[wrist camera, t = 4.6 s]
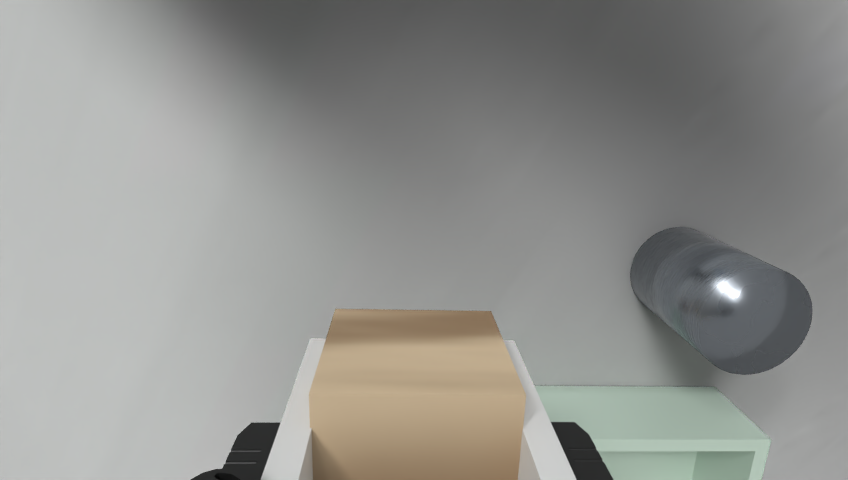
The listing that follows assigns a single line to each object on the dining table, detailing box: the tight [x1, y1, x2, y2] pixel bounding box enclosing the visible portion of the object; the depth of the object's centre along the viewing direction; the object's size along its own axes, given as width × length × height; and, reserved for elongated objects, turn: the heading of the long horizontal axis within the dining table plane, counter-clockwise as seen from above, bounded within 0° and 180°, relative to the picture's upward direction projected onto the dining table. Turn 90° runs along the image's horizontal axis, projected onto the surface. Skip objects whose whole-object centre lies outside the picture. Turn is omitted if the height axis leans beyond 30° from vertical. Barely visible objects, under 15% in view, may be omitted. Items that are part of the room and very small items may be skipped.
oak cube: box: [309, 309, 526, 480], centre depth 15 cm, size 5×5×5 cm
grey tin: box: [630, 227, 812, 375], centre depth 26 cm, size 5×5×7 cm
